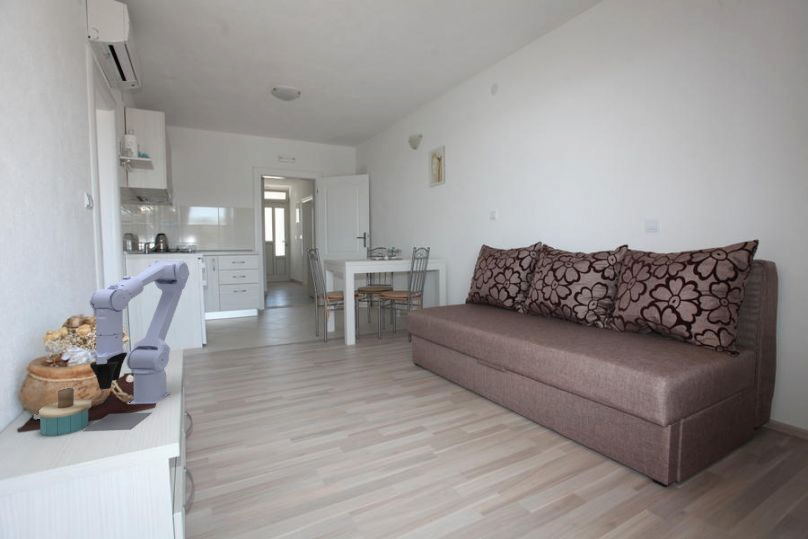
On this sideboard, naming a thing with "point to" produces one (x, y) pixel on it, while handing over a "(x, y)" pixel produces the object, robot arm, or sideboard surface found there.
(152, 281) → the robot arm
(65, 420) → the bowl
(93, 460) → the sideboard surface
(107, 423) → the mat
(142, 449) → the sideboard surface
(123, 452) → the sideboard surface
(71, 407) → the lid
